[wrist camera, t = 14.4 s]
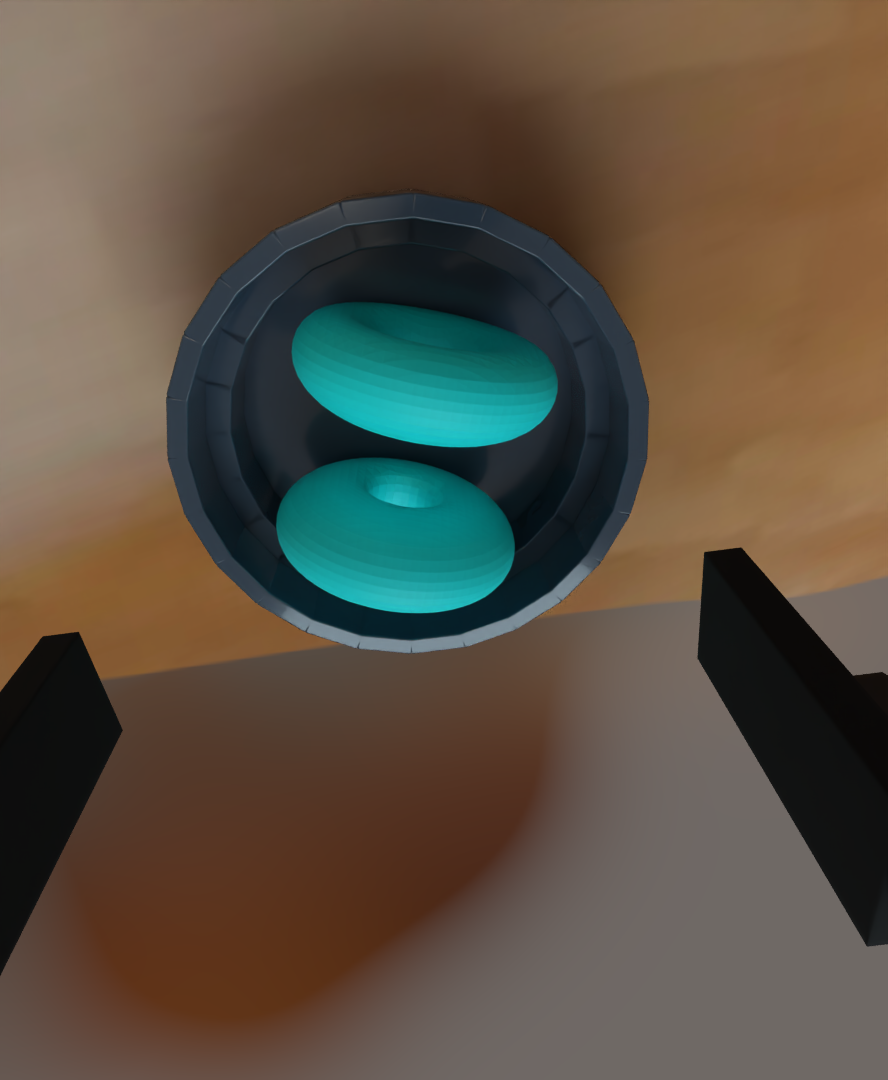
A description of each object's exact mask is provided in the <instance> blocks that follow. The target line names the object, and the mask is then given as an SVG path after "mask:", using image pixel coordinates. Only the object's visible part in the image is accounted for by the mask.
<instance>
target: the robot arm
mask: <svg viewBox="0 0 888 1080" xmlns="http://www.w3.org/2000/svg"><path fill="white" fill-rule="evenodd" d="M700 612H701V613H700V628H699V643H698V660H699V661H700V663H701V665H702V667H703V668H704V670H705V672H706V673H707V675H708V677H709V679H710V680H711V682H712V683H713V685H714V687H715V689H716V690H717V692H718V694H719V696H720V697H721V699H722V701H723V702H724V704H725V706H726V708H727V709H728V711H729V713H730V714H731V716H732V718H733V719H734V721H735V722H736V725H737V726H738V728H739V729H740V731H741V733H742V735H743V736H744V738H745V740H746V742H747V743H748V745H749V747H750V748H751V750H752V752H753V753H754V755H755V757H756V758H757V760H758V762H759V764H760V765H761V767H762V769H763V770H764V772H765V774H766V775H767V777H768V779H769V781H770V782H771V784H772V786H773V787H774V789H775V791H776V793H777V794H778V796H779V798H780V799H781V801H782V803H783V804H784V806H785V808H786V809H787V811H788V813H789V815H790V816H791V818H792V820H793V821H794V823H795V825H796V827H797V828H798V830H799V832H800V833H801V835H802V837H803V838H804V840H805V842H806V844H807V845H808V847H809V849H810V850H811V852H812V854H813V855H814V857H815V859H816V861H817V862H818V864H819V866H820V867H821V869H822V871H823V872H824V874H825V876H826V878H827V879H828V881H829V883H830V884H831V886H832V888H833V889H834V891H835V893H836V895H837V896H838V898H839V900H840V901H841V903H842V905H843V906H844V908H845V910H846V912H847V913H848V915H849V917H850V918H851V920H852V922H853V924H854V925H855V927H856V928H857V930H858V932H859V934H860V935H861V937H862V939H863V940H864V942H865V944H866V946H876V945H884V944H888V675H886V674H884V673H883V672H879V673H871V674H863V675H855V676H853V675H852V674H851V673H850V672H849V671H848V670H847V668H846V667H845V666H844V665H843V664H842V663H841V662H840V661H839V659H838V658H837V657H836V656H835V655H834V653H833V652H832V651H831V650H830V649H829V648H828V647H827V645H826V644H825V643H824V642H823V641H822V640H821V639H820V637H819V636H818V635H817V634H816V633H815V632H814V630H812V628H811V627H810V626H809V625H808V624H807V623H806V621H805V620H804V619H803V618H802V617H801V616H800V615H799V613H798V612H797V611H796V610H795V609H794V607H793V606H792V605H791V604H790V603H789V602H788V601H787V599H786V598H785V597H784V596H783V595H782V594H781V593H780V591H779V590H778V589H777V588H776V587H775V586H774V585H773V583H772V582H771V581H770V580H769V579H768V578H767V576H766V575H765V574H764V573H763V572H762V571H761V570H760V568H759V567H758V566H757V565H756V564H755V563H754V562H753V560H752V559H751V558H750V557H749V556H748V555H747V554H746V552H745V551H744V550H743V549H742V548H733V549H726V550H718V551H710V552H704V564H703V580H702V596H701V611H700ZM122 731H123V730H122V728H121V725H120V723H119V721H118V719H117V716H116V714H115V712H114V710H113V707H112V705H111V703H110V701H109V699H108V696H107V694H106V692H105V689H104V687H103V685H102V683H101V681H100V678H99V676H98V674H97V672H96V669H95V667H94V665H93V663H92V660H91V658H90V656H89V654H88V651H87V649H86V647H85V645H84V643H83V640H82V638H81V636H80V634H79V632H74V633H66V634H58V635H51V636H43V637H42V638H41V639H40V641H39V642H38V643H37V645H36V646H35V647H34V649H33V650H32V651H31V653H30V654H29V655H28V656H27V658H26V659H25V660H24V662H23V663H22V664H21V666H20V667H19V668H18V669H17V671H16V672H15V673H14V675H13V676H12V677H11V679H10V680H9V681H8V683H7V684H6V685H5V686H4V688H3V689H2V690H1V692H0V975H1V973H2V971H3V969H4V967H5V965H6V963H7V961H8V959H9V957H10V954H11V953H12V951H13V949H14V947H15V945H16V943H17V941H18V939H19V937H20V935H21V933H22V931H23V929H24V927H25V925H26V923H27V921H28V919H29V917H30V915H31V913H32V911H33V909H34V907H35V905H36V903H37V901H38V899H39V897H40V895H41V893H42V891H43V889H44V887H45V885H46V883H47V881H48V879H49V877H50V875H51V873H52V871H53V869H54V867H55V865H56V863H57V861H58V859H59V857H60V855H61V853H62V851H63V849H64V847H65V845H66V843H67V841H68V839H69V837H70V835H71V833H72V831H73V829H74V827H75V825H76V823H77V821H78V819H79V817H80V815H81V813H82V811H83V809H84V807H85V805H86V803H87V801H88V799H89V797H90V795H91V793H92V791H93V789H94V787H95V785H96V783H97V781H98V779H99V777H100V775H101V773H102V771H103V769H104V767H105V765H106V763H107V761H108V759H109V757H110V755H111V753H112V751H113V749H114V747H115V745H116V743H117V741H118V738H119V737H120V735H121V732H122Z"/></svg>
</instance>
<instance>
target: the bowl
mask: <svg viewBox="0 0 888 1080" xmlns="http://www.w3.org/2000/svg"><path fill="white" fill-rule="evenodd" d="M345 302H374V303H387V304H396V305H404V306H412V307H418V308H424V309H430V310H435V311H440V312H445V313H449V314H453V315H458V316H462V317H466V318H470V319H473V320H477V321H480V322H484V323H487V324H490V325H493V326H496V327H499V328H502V329H505V330H507V331H510V332H512V333H514V334H517V335H519V336H521V337H523V338H525V339H527V340H528V341H530V342H532V343H533V344H535V345H536V346H537V347H538V348H540V349H541V350H542V351H543V352H544V353H545V354H546V355H547V356H548V358H549V360H550V361H551V363H552V365H553V366H554V368H555V371H556V375H557V380H558V390H557V395H556V399H555V402H554V404H553V406H552V408H551V410H550V412H549V413H548V415H547V416H546V417H545V418H544V420H543V421H542V422H541V423H539V424H538V425H537V426H536V427H534V428H533V429H532V430H530V431H529V432H527V433H525V434H523V435H521V436H519V437H517V438H515V439H512V440H509V441H506V442H502V443H497V444H492V445H486V446H478V447H442V446H432V445H424V444H418V443H412V442H407V441H402V440H398V439H394V438H391V437H387V436H383V435H380V434H377V433H374V432H371V431H368V430H366V429H363V428H361V427H358V426H356V425H354V424H352V423H350V422H348V421H346V420H344V419H342V418H341V417H339V416H337V415H335V414H334V413H332V412H331V411H329V410H328V409H326V408H325V407H324V406H322V405H321V404H320V403H319V402H318V401H317V400H316V399H315V398H314V397H313V396H312V395H311V394H310V393H309V392H308V391H307V390H306V389H305V387H304V386H303V384H302V382H301V381H300V379H299V377H298V376H297V373H296V370H295V368H294V365H293V360H292V342H293V338H294V335H295V332H296V330H297V328H298V327H299V325H300V324H301V322H302V321H303V320H304V319H305V318H306V317H307V316H309V315H310V314H311V313H313V312H314V311H315V310H317V309H320V308H322V307H325V306H328V305H333V304H337V303H345ZM166 411H167V456H168V462H169V465H170V469H171V472H172V475H173V478H174V482H175V485H176V488H177V491H178V495H179V498H180V501H181V504H182V507H183V511H184V514H185V515H186V518H187V519H188V521H189V522H190V524H191V526H192V527H193V529H194V530H195V532H196V534H197V535H198V537H199V538H200V540H201V542H202V543H203V545H204V546H205V548H206V550H207V551H208V553H209V554H210V556H211V557H212V559H213V561H214V562H215V564H217V566H218V567H219V568H220V569H221V570H222V571H223V572H224V573H225V574H226V575H227V576H228V577H229V578H230V579H231V580H233V581H234V582H235V583H236V584H237V585H238V586H239V587H240V588H241V589H242V590H243V591H244V592H245V593H246V594H247V595H248V596H249V597H250V598H251V599H252V600H253V601H254V602H255V603H258V605H260V606H261V607H263V608H265V609H267V610H268V611H270V612H272V613H273V614H275V615H277V616H279V617H280V618H282V619H284V620H285V621H287V622H289V623H290V624H292V625H294V626H296V627H297V628H299V629H301V630H302V631H305V632H306V633H309V634H312V635H316V636H319V637H322V638H325V639H328V640H331V641H334V642H337V643H341V644H344V645H347V646H350V647H353V648H358V649H366V650H377V651H387V652H398V653H421V652H429V651H438V650H446V649H454V648H463V647H468V646H471V645H474V644H476V643H479V642H482V641H485V640H488V639H491V638H493V637H496V636H499V635H502V634H505V633H508V632H511V631H514V630H516V629H518V628H519V627H521V626H523V625H524V624H526V623H528V622H529V621H531V620H533V619H534V618H536V617H537V616H539V615H541V614H542V613H544V612H545V611H547V610H549V609H550V608H552V607H554V606H555V605H557V604H558V603H560V602H561V601H562V600H564V599H565V598H566V597H567V596H568V595H569V594H570V593H571V592H572V591H573V590H574V589H575V588H576V587H577V586H578V585H579V584H580V583H581V582H582V581H583V580H584V579H585V578H586V577H587V576H588V575H589V574H590V573H591V572H592V571H593V570H594V569H595V568H596V567H597V566H598V565H599V564H600V563H601V562H600V561H602V560H603V558H604V557H605V555H606V553H607V552H608V550H609V548H610V547H611V545H612V544H613V542H614V540H615V539H616V537H617V535H618V534H619V532H620V530H621V529H622V527H623V526H624V524H625V522H626V521H627V519H628V517H629V514H630V513H631V510H632V507H633V504H634V501H635V497H636V494H637V491H638V487H639V484H640V481H641V478H642V474H643V471H644V468H645V464H646V460H647V449H648V416H649V398H648V394H647V390H646V386H645V382H644V378H643V374H642V370H641V366H640V363H639V359H638V355H637V351H636V347H635V343H634V340H633V338H632V336H631V334H630V333H629V331H628V329H627V327H626V326H625V324H624V322H623V321H622V319H621V317H620V316H619V314H618V312H617V310H616V309H615V307H614V305H613V304H612V302H611V300H610V299H609V297H608V295H607V293H606V292H605V290H604V288H603V287H602V285H601V284H599V281H598V280H596V279H595V278H594V277H593V276H592V275H591V274H590V273H589V272H588V271H587V270H586V269H585V268H584V267H582V266H581V265H580V264H579V263H578V262H577V261H576V260H575V259H574V258H573V257H572V256H571V255H570V254H569V253H567V252H566V251H565V250H564V249H563V248H562V247H561V246H560V245H559V244H558V243H557V242H556V241H555V240H554V239H552V238H551V237H549V236H548V235H547V234H545V233H543V232H541V231H539V230H537V229H535V228H532V227H530V226H528V225H526V224H524V223H522V222H520V221H518V220H516V219H514V218H512V217H510V216H508V215H506V214H504V213H502V212H500V211H498V210H496V209H494V208H492V207H490V206H488V205H486V204H483V203H480V202H478V201H475V200H472V199H469V198H464V197H458V196H452V195H446V194H441V193H435V192H429V191H423V190H417V189H401V190H393V191H385V192H376V193H368V194H360V195H352V196H350V197H346V198H344V199H341V200H339V201H337V202H335V203H332V204H330V205H328V206H325V207H323V208H321V209H319V210H316V211H314V212H312V213H309V214H307V215H305V216H303V217H300V218H298V219H296V220H294V221H291V222H289V223H287V224H285V225H283V226H281V227H278V228H276V229H275V230H273V231H271V232H270V233H269V234H268V235H267V236H265V237H264V238H263V239H262V240H261V241H260V242H258V243H257V244H256V245H255V246H254V247H253V248H251V249H250V250H249V251H248V252H247V253H246V254H244V255H243V256H242V257H241V258H240V259H239V260H237V261H236V262H235V263H234V264H233V265H232V266H230V267H229V268H228V269H227V270H226V271H225V272H223V273H222V274H221V276H220V277H219V278H218V279H217V280H216V282H215V284H214V285H213V287H212V288H211V290H210V292H209V293H208V295H207V296H206V298H205V300H204V301H203V303H202V304H201V306H200V307H199V309H198V311H197V312H196V314H195V315H194V317H193V319H192V320H191V322H190V323H189V325H188V326H187V328H186V330H185V331H184V335H183V336H182V340H181V343H180V347H179V351H178V354H177V358H176V362H175V365H174V369H173V373H172V376H171V380H170V383H169V387H168V391H167V397H166ZM356 458H393V459H401V460H407V461H413V462H418V463H422V464H426V465H430V466H433V467H436V468H439V469H442V470H445V471H448V472H450V473H452V474H455V475H457V476H459V477H461V478H463V479H465V480H466V481H468V482H470V483H472V484H473V485H475V486H476V487H478V488H479V489H481V490H482V491H483V492H485V493H486V494H487V495H488V496H489V497H490V498H491V499H493V501H494V502H495V503H496V504H497V505H498V506H499V508H500V509H501V510H502V511H503V513H504V514H505V516H506V518H507V520H508V522H509V524H510V526H511V528H512V532H513V536H514V542H515V551H514V559H513V562H512V566H511V568H510V570H509V572H508V574H507V576H506V577H505V579H504V580H503V582H502V583H501V584H500V585H499V586H498V587H497V588H496V589H495V590H494V591H492V592H491V593H490V594H489V595H487V596H486V597H484V598H482V599H480V600H478V601H476V602H474V603H472V604H470V605H467V606H464V607H460V608H457V609H453V610H448V611H442V612H434V613H400V612H391V611H384V610H379V609H374V608H370V607H366V606H362V605H359V604H355V603H352V602H349V601H347V600H344V599H342V598H339V597H337V596H335V595H332V594H330V593H328V592H327V591H325V590H323V589H321V588H319V587H318V586H316V585H315V584H313V583H312V582H311V581H309V580H308V579H306V578H305V577H304V576H303V575H302V574H301V573H300V572H298V571H297V570H296V568H295V567H294V566H293V565H292V564H291V563H290V562H289V560H288V559H287V557H286V555H285V554H284V552H283V550H282V548H281V546H280V543H279V540H278V535H277V530H276V522H277V513H278V510H279V506H280V503H281V501H282V499H283V498H284V496H285V495H286V493H287V492H288V490H289V489H290V488H291V487H292V486H293V485H294V484H295V483H296V482H297V481H298V480H299V479H300V478H302V477H303V476H305V475H306V474H308V473H310V472H311V471H313V470H315V469H317V468H319V467H322V466H324V465H327V464H331V463H334V462H339V461H343V460H349V459H356Z"/></svg>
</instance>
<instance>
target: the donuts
mask: <svg viewBox="0 0 888 1080" xmlns="http://www.w3.org/2000/svg"><path fill="white" fill-rule="evenodd" d="M292 360H293V365H294V368H295V370H296V373H297V376H298V377H299V379H300V381H301V382H302V384H303V386H304V387H305V389H306V390H307V391H308V392H309V393H310V394H311V395H312V396H313V397H314V398H315V399H316V400H317V401H318V402H319V403H320V404H321V405H322V406H324V407H325V408H326V409H328V410H329V411H331V412H332V413H334V414H335V415H337V416H339V417H341V418H342V419H344V420H346V421H348V422H350V423H352V424H354V425H356V426H358V427H361V428H363V429H366V430H368V431H371V432H374V433H377V434H380V435H383V436H387V437H391V438H394V439H398V440H402V441H407V442H412V443H418V444H424V445H432V446H442V447H478V446H486V445H492V444H497V443H502V442H506V441H509V440H512V439H515V438H517V437H519V436H521V435H523V434H525V433H527V432H529V431H530V430H532V429H533V428H534V427H536V426H537V425H538V424H539V423H541V422H542V421H543V420H544V418H545V417H546V416H547V415H548V413H549V412H550V410H551V408H552V406H553V404H554V402H555V399H556V395H557V390H558V380H557V375H556V371H555V368H554V366H553V365H552V363H551V361H550V360H549V358H548V356H547V355H546V354H545V353H544V352H543V351H542V350H541V349H540V348H538V347H537V346H536V345H535V344H533V343H532V342H530V341H528V340H527V339H525V338H523V337H521V336H519V335H517V334H514V333H512V332H510V331H507V330H505V329H502V328H499V327H496V326H493V325H490V324H487V323H484V322H480V321H477V320H473V319H470V318H466V317H462V316H458V315H453V314H449V313H445V312H440V311H435V310H430V309H424V308H418V307H412V306H404V305H396V304H387V303H374V302H345V303H337V304H333V305H328V306H325V307H322V308H320V309H317V310H315V311H314V312H313V313H311V314H310V315H309V316H307V317H306V318H305V319H304V320H303V321H302V322H301V324H300V325H299V327H298V328H297V330H296V332H295V335H294V338H293V342H292ZM276 530H277V535H278V540H279V543H280V546H281V548H282V550H283V552H284V554H285V555H286V557H287V559H288V560H289V562H290V563H291V564H292V565H293V566H294V567H295V568H296V570H297V571H298V572H300V573H301V574H302V575H303V576H304V577H305V578H306V579H308V580H309V581H311V582H312V583H313V584H315V585H316V586H318V587H319V588H321V589H323V590H325V591H327V592H328V593H330V594H332V595H335V596H337V597H339V598H342V599H344V600H347V601H349V602H352V603H355V604H359V605H362V606H366V607H370V608H374V609H379V610H384V611H391V612H400V613H434V612H442V611H448V610H453V609H457V608H460V607H464V606H467V605H470V604H472V603H474V602H476V601H478V600H480V599H482V598H484V597H486V596H487V595H489V594H490V593H491V592H492V591H494V590H495V589H496V588H497V587H498V586H499V585H500V584H501V583H502V582H503V580H504V579H505V577H506V576H507V574H508V572H509V570H510V568H511V566H512V562H513V559H514V551H515V542H514V536H513V532H512V528H511V526H510V524H509V522H508V520H507V518H506V516H505V514H504V513H503V511H502V510H501V509H500V508H499V506H498V505H497V504H496V503H495V502H494V501H493V499H491V498H490V497H489V496H488V495H487V494H486V493H485V492H483V491H482V490H481V489H479V488H478V487H476V486H475V485H473V484H472V483H470V482H468V481H466V480H465V479H463V478H461V477H459V476H457V475H455V474H452V473H450V472H448V471H445V470H442V469H439V468H436V467H433V466H430V465H426V464H422V463H418V462H413V461H407V460H401V459H393V458H356V459H349V460H343V461H339V462H334V463H331V464H327V465H324V466H322V467H319V468H317V469H315V470H313V471H311V472H310V473H308V474H306V475H305V476H303V477H302V478H300V479H299V480H298V481H297V482H296V483H295V484H294V485H293V486H292V487H291V488H290V489H289V490H288V492H287V493H286V495H285V496H284V498H283V499H282V501H281V503H280V506H279V510H278V513H277V522H276Z"/></svg>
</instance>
